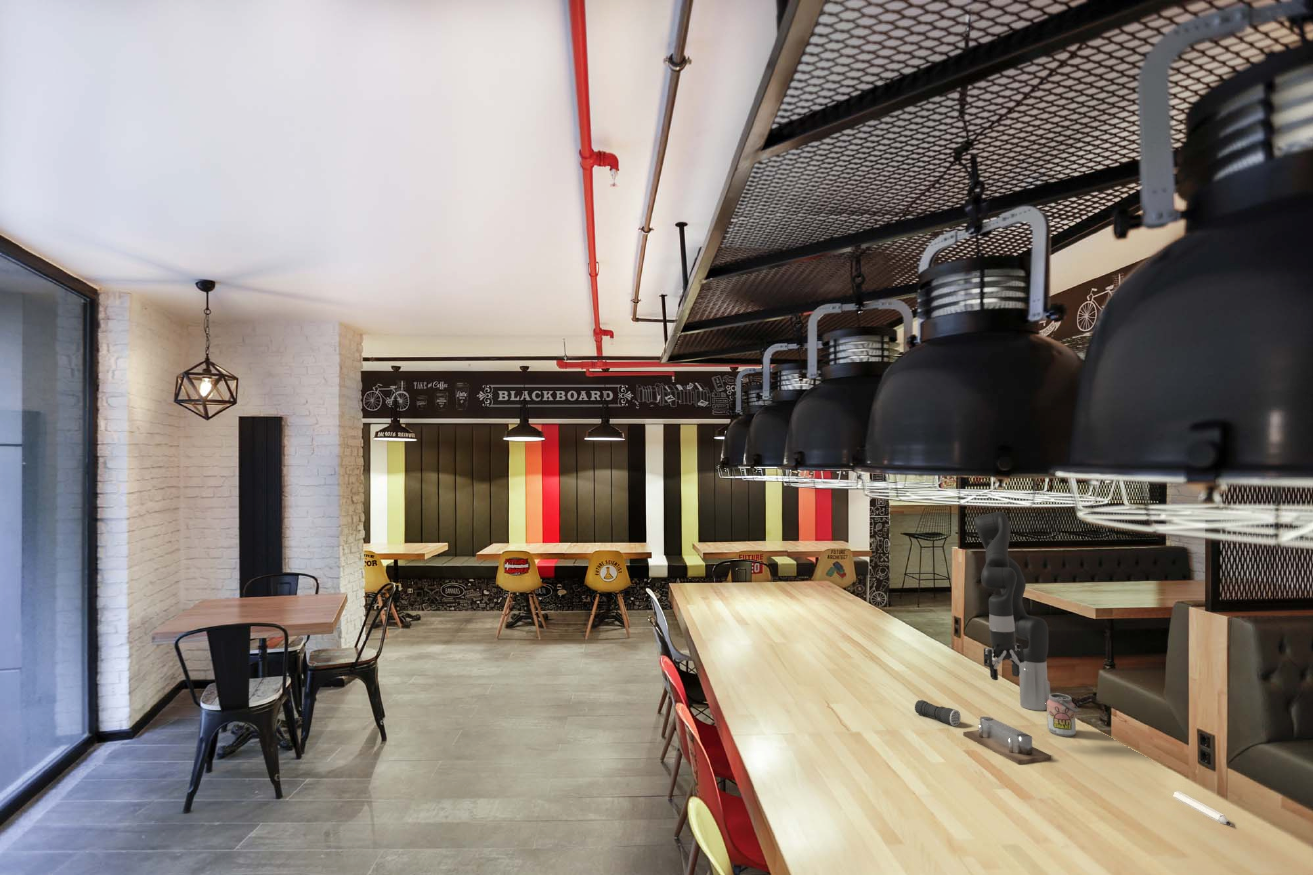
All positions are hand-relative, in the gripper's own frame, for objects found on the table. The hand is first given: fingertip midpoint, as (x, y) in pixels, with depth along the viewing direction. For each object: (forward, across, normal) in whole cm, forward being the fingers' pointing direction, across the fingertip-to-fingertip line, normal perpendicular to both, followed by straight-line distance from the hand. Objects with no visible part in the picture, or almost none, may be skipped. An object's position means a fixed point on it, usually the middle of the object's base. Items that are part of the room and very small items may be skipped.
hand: (1005, 677), depth 229 cm
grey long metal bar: (+18, +6, +5) cm, 20 cm away
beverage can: (+21, -20, +2) cm, 29 cm away
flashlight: (+20, +10, -22) cm, 32 cm away
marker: (+20, -8, +56) cm, 60 cm away
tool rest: (+19, +6, +5) cm, 21 cm away
